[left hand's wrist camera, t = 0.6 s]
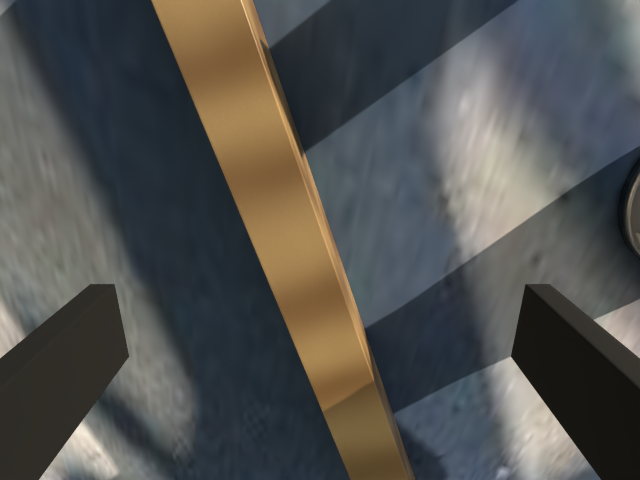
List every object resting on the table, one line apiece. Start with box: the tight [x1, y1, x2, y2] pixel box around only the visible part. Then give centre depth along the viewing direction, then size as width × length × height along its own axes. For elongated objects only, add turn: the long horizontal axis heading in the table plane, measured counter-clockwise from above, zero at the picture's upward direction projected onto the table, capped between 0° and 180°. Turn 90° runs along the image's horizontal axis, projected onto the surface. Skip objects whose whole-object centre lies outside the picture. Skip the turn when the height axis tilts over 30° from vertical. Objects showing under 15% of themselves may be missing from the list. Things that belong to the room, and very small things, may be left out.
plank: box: [151, 0, 415, 480], centre depth 35 cm, size 65×5×8 cm, turn 18°
